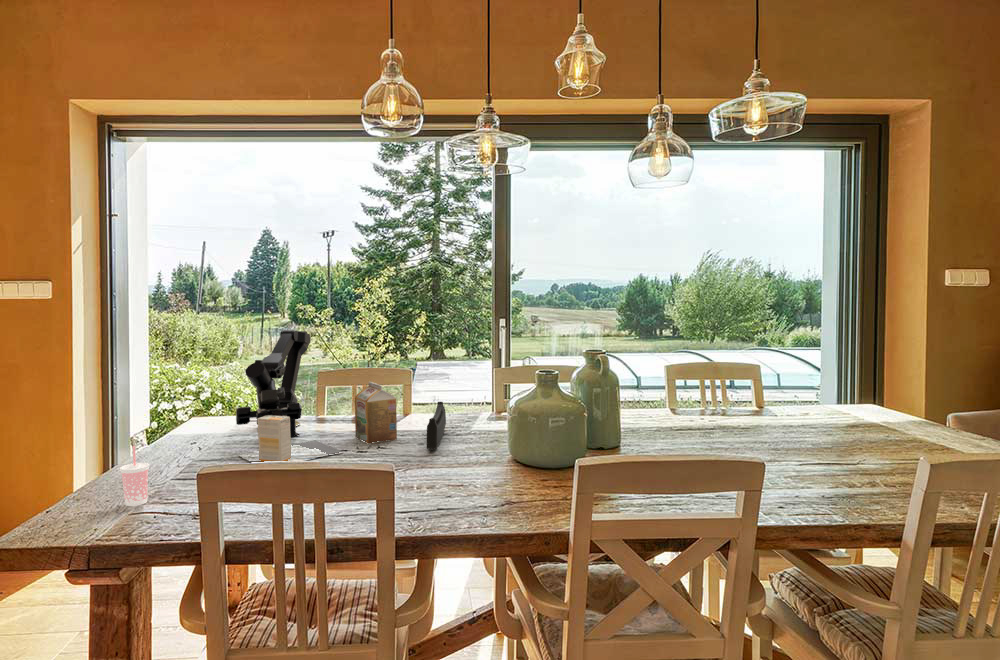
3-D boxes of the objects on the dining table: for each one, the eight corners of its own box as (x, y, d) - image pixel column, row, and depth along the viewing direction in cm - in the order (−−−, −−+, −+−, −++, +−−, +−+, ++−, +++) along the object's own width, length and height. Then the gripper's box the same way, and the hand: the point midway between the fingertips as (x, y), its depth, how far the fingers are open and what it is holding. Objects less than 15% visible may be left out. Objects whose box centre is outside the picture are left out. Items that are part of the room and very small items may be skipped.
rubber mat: (238, 456, 186) (238, 454, 186) (315, 441, 203) (315, 440, 203) (262, 469, 172) (262, 467, 172) (342, 453, 189) (342, 451, 189)
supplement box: (292, 459, 180) (291, 416, 179) (281, 464, 176) (280, 419, 175) (269, 457, 183) (268, 414, 182) (258, 461, 178) (256, 417, 177)
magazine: (435, 426, 187) (444, 383, 215) (425, 426, 187) (435, 383, 215) (437, 473, 193) (446, 425, 221) (427, 473, 193) (437, 425, 221)
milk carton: (396, 439, 207) (396, 384, 205) (367, 444, 201) (366, 387, 199) (384, 433, 215) (383, 380, 214) (355, 437, 209) (354, 382, 208)
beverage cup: (147, 505, 145) (144, 447, 143) (117, 508, 143) (115, 450, 142) (153, 497, 150) (151, 441, 149) (125, 499, 149) (123, 443, 148)
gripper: (235, 381, 183) (239, 424, 174) (300, 377, 191) (306, 418, 182) (234, 402, 190) (238, 445, 181) (296, 397, 199) (303, 438, 190)
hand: (272, 436), depth 183 cm, fingers closed
